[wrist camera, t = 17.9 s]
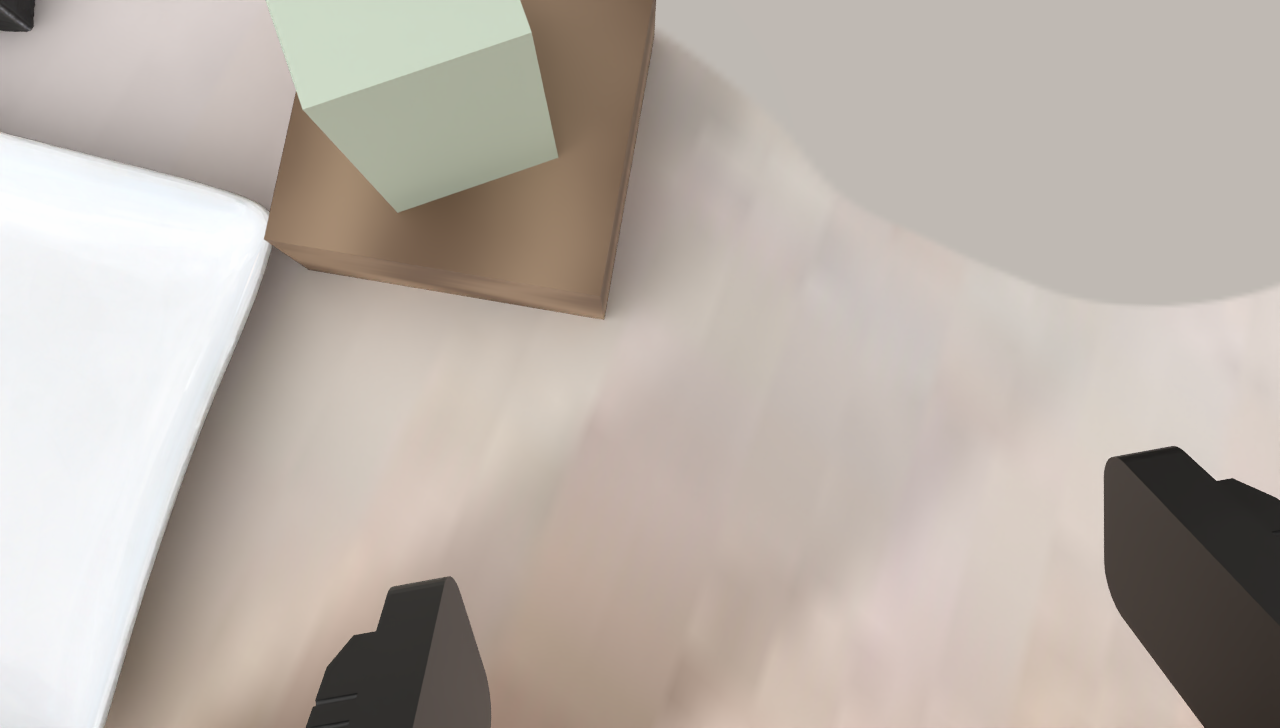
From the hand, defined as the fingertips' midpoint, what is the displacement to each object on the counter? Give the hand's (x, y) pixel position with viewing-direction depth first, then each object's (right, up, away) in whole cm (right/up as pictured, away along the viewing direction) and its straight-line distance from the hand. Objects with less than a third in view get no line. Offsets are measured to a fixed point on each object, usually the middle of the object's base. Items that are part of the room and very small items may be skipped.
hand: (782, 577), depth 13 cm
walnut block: (-8, +11, +26) cm, 29 cm away
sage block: (-8, +11, +21) cm, 25 cm away
